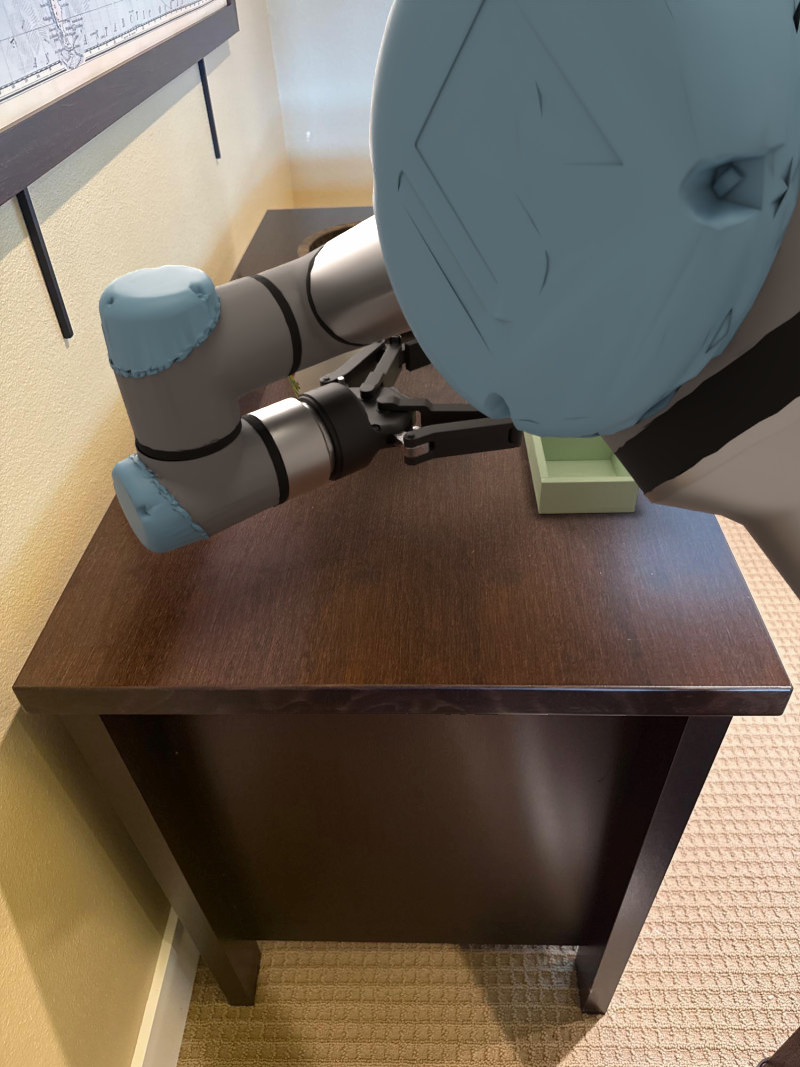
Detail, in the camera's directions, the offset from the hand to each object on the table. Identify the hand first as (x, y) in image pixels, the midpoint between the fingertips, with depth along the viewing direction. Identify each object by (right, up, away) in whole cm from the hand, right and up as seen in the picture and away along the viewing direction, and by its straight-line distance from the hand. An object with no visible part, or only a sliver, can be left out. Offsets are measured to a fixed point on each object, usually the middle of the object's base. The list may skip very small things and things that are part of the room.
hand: (507, 361), depth 72 cm
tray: (+8, -6, +12) cm, 16 cm away
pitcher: (-17, -1, +20) cm, 27 cm away
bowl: (-13, +16, +40) cm, 45 cm away
